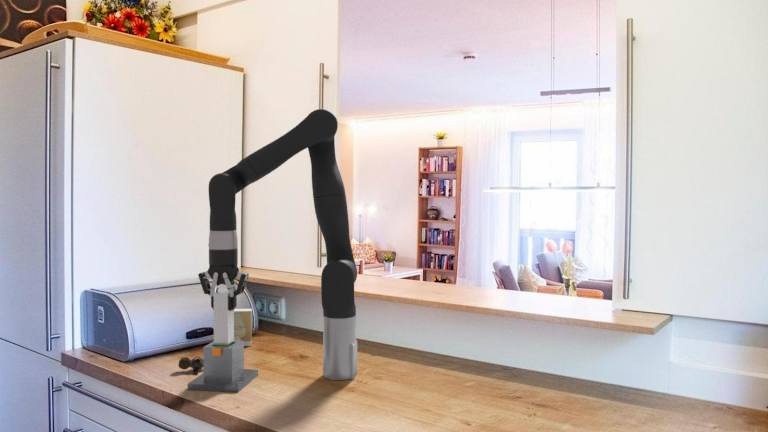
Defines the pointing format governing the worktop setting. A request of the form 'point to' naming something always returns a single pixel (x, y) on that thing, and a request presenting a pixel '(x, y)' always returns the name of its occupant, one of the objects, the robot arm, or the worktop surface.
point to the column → (223, 320)
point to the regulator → (192, 364)
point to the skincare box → (243, 325)
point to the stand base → (223, 369)
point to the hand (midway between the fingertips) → (223, 309)
